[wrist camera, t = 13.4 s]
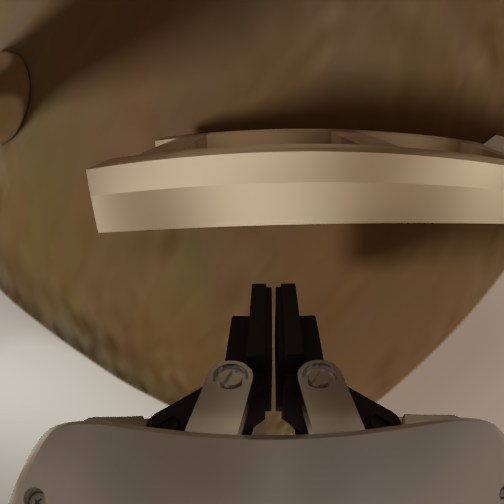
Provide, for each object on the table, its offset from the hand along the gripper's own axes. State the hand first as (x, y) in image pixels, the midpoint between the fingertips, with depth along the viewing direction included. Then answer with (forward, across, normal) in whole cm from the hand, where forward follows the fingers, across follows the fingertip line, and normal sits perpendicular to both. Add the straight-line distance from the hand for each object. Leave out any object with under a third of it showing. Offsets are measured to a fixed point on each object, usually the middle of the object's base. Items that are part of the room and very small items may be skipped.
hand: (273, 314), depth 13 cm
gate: (+4, -3, -6) cm, 8 cm away
